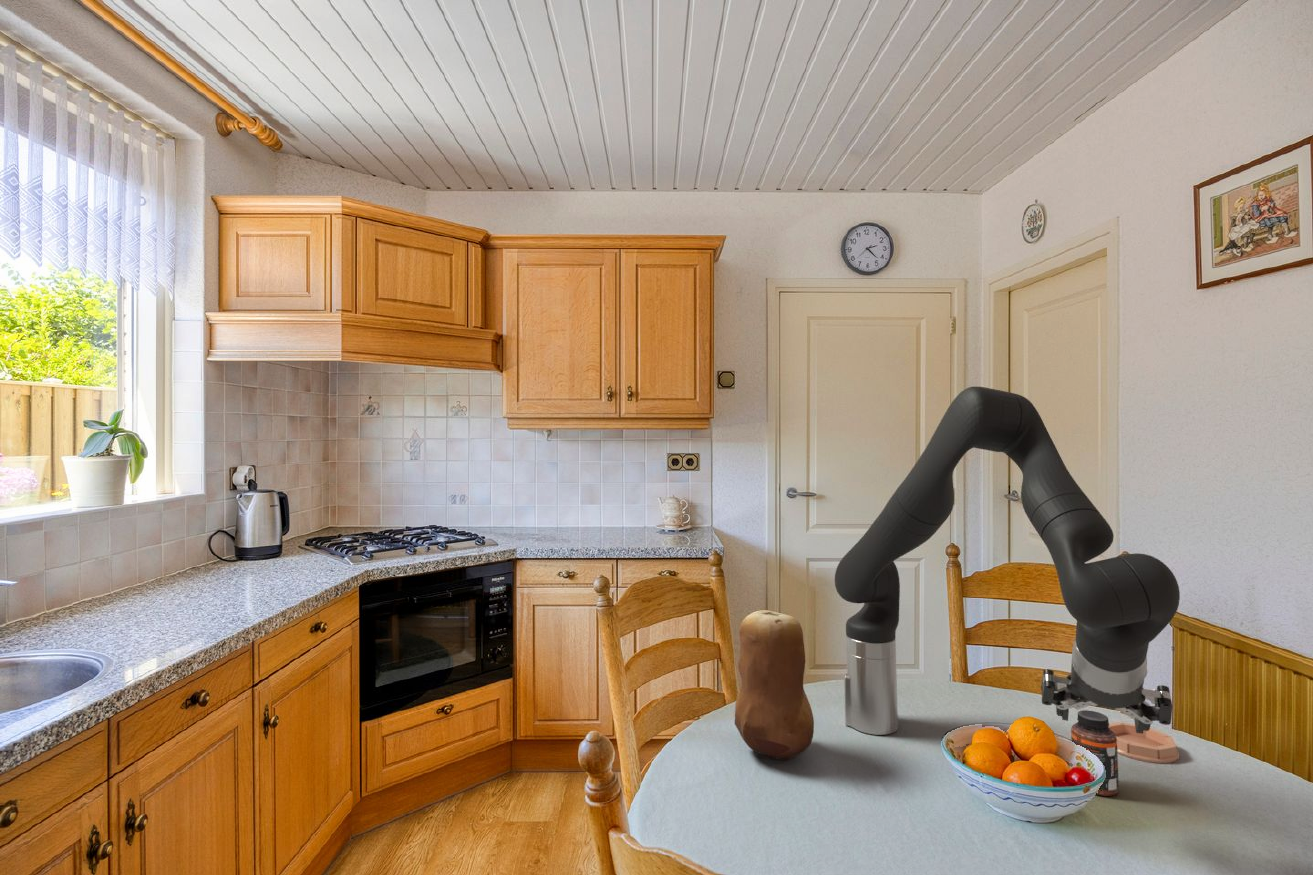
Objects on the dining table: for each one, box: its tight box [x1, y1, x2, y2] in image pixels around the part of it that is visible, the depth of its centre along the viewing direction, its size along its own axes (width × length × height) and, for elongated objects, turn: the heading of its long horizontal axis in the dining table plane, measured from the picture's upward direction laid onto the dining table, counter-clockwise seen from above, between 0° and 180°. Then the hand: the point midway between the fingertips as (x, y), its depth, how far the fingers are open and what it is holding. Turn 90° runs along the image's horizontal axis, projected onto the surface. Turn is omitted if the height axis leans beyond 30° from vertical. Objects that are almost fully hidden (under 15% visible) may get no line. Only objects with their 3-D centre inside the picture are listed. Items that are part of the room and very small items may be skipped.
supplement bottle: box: [1070, 709, 1120, 797], centre depth 96 cm, size 6×6×11 cm
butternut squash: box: [734, 609, 815, 761], centre depth 109 cm, size 14×13×25 cm
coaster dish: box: [1109, 721, 1180, 764], centre depth 108 cm, size 11×11×2 cm
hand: (1100, 720), depth 87 cm, fingers open, 8 cm apart
